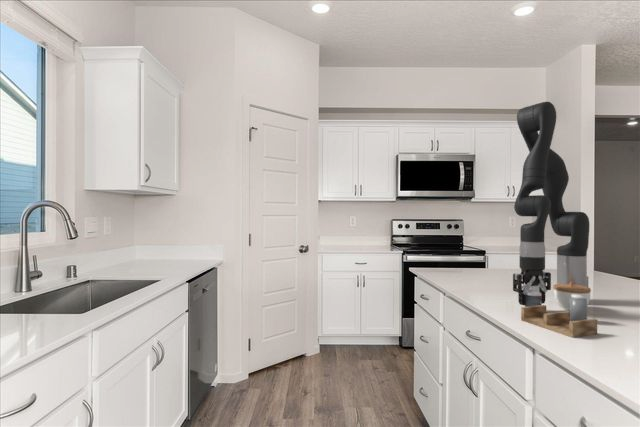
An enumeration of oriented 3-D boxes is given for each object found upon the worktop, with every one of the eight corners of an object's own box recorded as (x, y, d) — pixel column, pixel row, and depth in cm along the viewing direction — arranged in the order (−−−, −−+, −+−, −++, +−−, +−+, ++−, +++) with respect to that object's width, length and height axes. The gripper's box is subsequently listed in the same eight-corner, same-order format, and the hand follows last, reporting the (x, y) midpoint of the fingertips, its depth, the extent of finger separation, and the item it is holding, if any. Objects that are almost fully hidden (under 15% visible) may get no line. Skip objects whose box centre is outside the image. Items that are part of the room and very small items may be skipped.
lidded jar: (584, 306, 134) (584, 280, 134) (595, 314, 124) (595, 285, 124) (549, 304, 138) (549, 278, 138) (557, 312, 128) (557, 284, 127)
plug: (576, 318, 120) (576, 293, 120) (590, 322, 116) (590, 296, 116) (566, 320, 118) (566, 294, 118) (579, 324, 114) (579, 297, 114)
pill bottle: (544, 314, 125) (544, 287, 125) (526, 313, 126) (526, 286, 126) (538, 310, 130) (538, 284, 130) (521, 309, 131) (521, 283, 131)
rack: (543, 317, 121) (543, 304, 121) (597, 333, 105) (597, 319, 105) (521, 320, 118) (521, 307, 118) (572, 337, 102) (572, 322, 102)
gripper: (539, 253, 134) (539, 300, 134) (506, 254, 129) (506, 303, 130) (558, 255, 127) (558, 305, 127) (524, 257, 122) (524, 308, 122)
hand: (531, 303), depth 128 cm, fingers open, 7 cm apart
